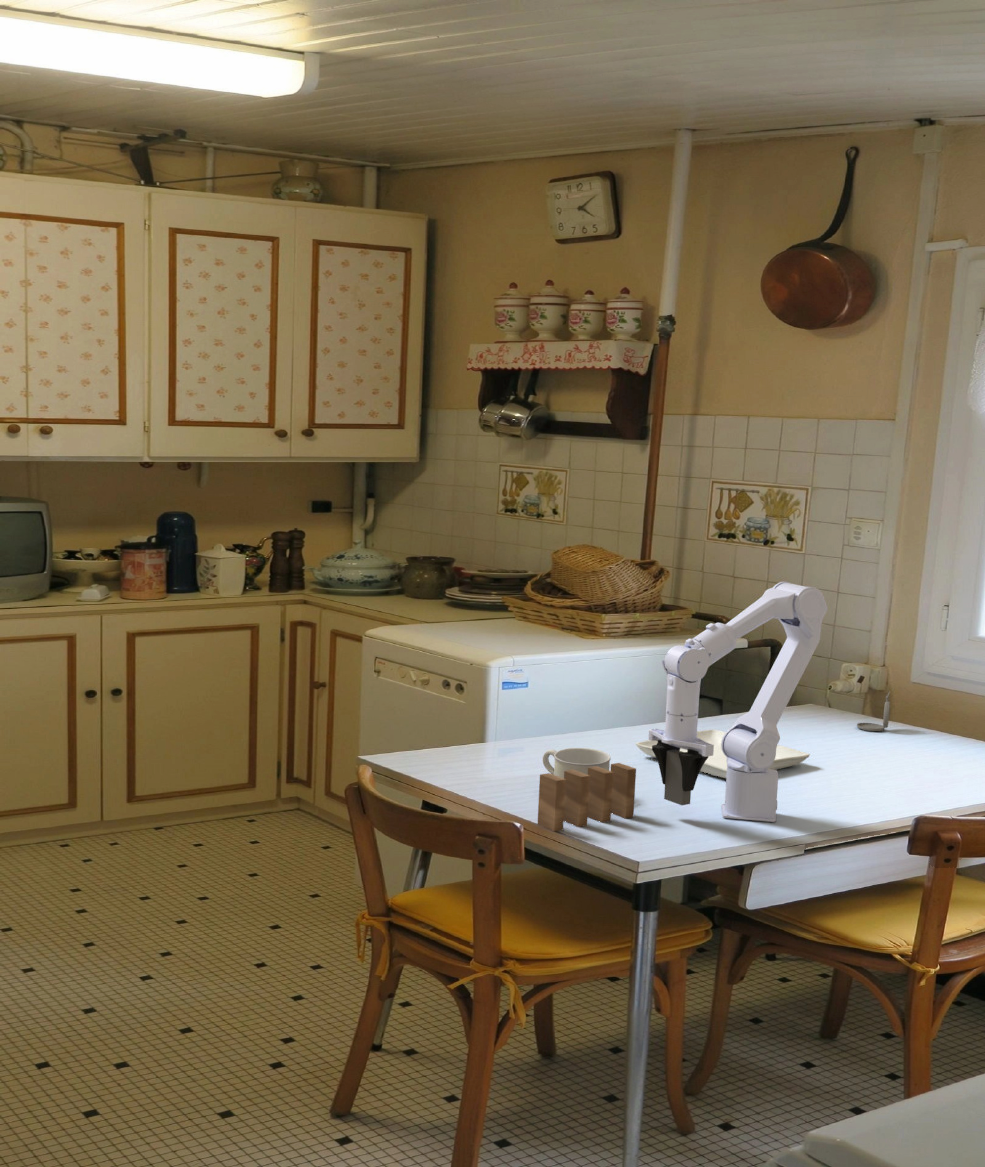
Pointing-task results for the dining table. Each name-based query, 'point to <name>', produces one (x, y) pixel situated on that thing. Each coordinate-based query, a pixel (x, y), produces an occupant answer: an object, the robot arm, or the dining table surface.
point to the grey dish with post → (876, 726)
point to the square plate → (718, 761)
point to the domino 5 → (675, 780)
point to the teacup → (575, 760)
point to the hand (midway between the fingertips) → (677, 787)
